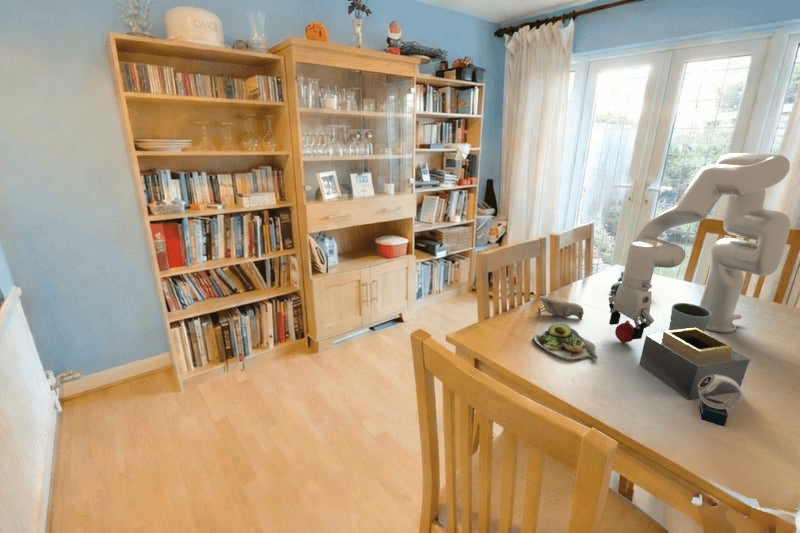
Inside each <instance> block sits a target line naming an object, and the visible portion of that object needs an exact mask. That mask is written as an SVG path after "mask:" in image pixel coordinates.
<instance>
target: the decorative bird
mask: <svg viewBox="0 0 800 533" xmlns="http://www.w3.org/2000/svg"><path fill="white" fill-rule="evenodd" d="M539 300H540V301H541V302H542V304H543V307H541V308H540V306H537V308H538V309H537V310H538V315H539V316H541V315H542V314H541V313H543V312H547V313H548V314H551V315H553V316H558V317H561V318H564V317H565V318H566V317H567V318H568V317H571V316H575V317H577V318H579V319H580V320H582V319H583V316H584V312H585V311H584V308H583V307H582V305H580V304H578V303H575V302H568V301H565V300H562V299H552V298H549V297H547V296H542V295H539ZM541 310H542V311H541Z"/></svg>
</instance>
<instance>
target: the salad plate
mask: <svg viewBox="0 0 800 533" xmlns="http://www.w3.org/2000/svg"><path fill="white" fill-rule="evenodd" d="M532 340H533V342H534V343H535V345H536V346H538V348H540V349H542V350H543V351H545V352H547V353H548V354H551V355H552V356H555V357H557V358H559V359H561V360H567V361H580V360H583V359H585V358H586V359H587V358H592V359H599V357H598V355H597V354H596V353H595V352H596V350H597V349H596V348H597V347H596V345H595V343H593V341H590V340H588V339H586V338H584V337H582V336H580V334H579V333H578V331H577V330H575V329H574V328H571V327H570V326H569V325H567V324H565V323H555V324H554V323H553V324H552V325H550V326H549V327H548V330H545V331H542V332H538V333H536V334H534V335H533V338H532ZM557 350H558V351H565V352H567V354H570V355H569V356H567V355H563V354H559V353H556V352H554V351H557Z"/></svg>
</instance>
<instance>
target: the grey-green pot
mask: <svg viewBox="0 0 800 533" xmlns="http://www.w3.org/2000/svg"><path fill="white" fill-rule="evenodd" d="M711 315H712V313H711V312H710V311H709V310H707V309H705V308H703V307H701V306H700V305H697V304H693V303H687V302H677V303H674V304H672V306H671V314H670V321H669V327H668V330H667V331H672V330H680V329H688V328H697V329H699V330H701V331H703V332H705V331H706V329H705V328H706V327H707V325H708V322H709V320H710V317H711Z"/></svg>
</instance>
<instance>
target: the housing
mask: <svg viewBox="0 0 800 533" xmlns="http://www.w3.org/2000/svg"><path fill="white" fill-rule="evenodd" d="M750 360H751V359H750V358H748V357H746V356H744V355H742V354H741V353H739V352H737V351H735V350H734V346H733V345H730V344H728V343H727V342H725V341H723V340H720V339H719V338H717V337H715V336H713V335H711V334H709V333H707V332H705V331H704V332H703V331H701V330H699V329H697V328H688V329H680V330H672V331H668V330H665V331H663V332H662V333H652V334H646V335H645V339H644V343H643V347H642V351H641V356H640V359H639V363H638V364H639V366H640V367H641V368H643V369H644V370H645V371H646V372H648V373H649V374H650V375H653V376H654V377H655V378H656V379H658V380H659V381H661V382H662V383H663V384H665V385H666V386H668V387H669V388H670V389H672V390H673V391H675V392H676V393H677V394H679V395H680V396H682V397H683V398H685V399H686V400H687V401H691V400H692V401H693V400H697V399H700V397H699V392H698V389H697V385H698V383H699V381H700V380H701V379H702V378H704V377H705V376H707V375H710V374H713V375H723V376H726V377H729V378H731V379H733V380H734V381H735V382H736V383H737V384H738V385H739V387H740V388H741V386H742V383H743V381H744V378H745V375H746V371H747V369H748V366H749V364H750ZM721 382H722V381H721ZM737 392H739V390H738V389H737V388H736V387H735V386H734V385H732V384H730V383H727V382H722V383H720V384H718V385H717V387H716V388H715V389H714V390H712V391H711V392H709V393H704V394H703V395H702V396H703V397H706V398H709V397H710V398H711V397H716V396H721V395H729V394H734V393H735V394H736V393H737Z"/></svg>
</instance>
